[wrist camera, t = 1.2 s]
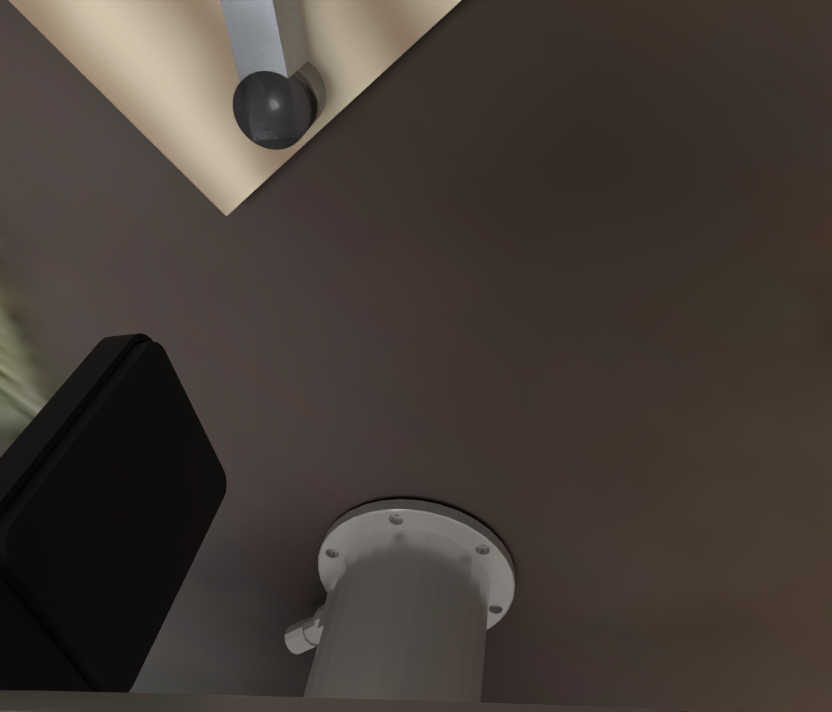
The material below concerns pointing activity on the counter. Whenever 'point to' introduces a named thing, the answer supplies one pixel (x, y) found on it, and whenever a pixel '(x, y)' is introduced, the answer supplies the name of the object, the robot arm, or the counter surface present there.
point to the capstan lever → (272, 72)
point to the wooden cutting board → (220, 71)
